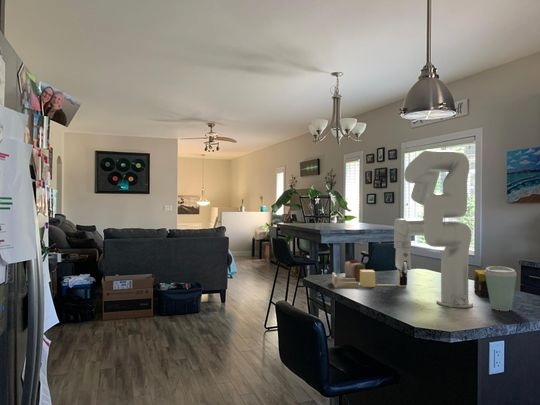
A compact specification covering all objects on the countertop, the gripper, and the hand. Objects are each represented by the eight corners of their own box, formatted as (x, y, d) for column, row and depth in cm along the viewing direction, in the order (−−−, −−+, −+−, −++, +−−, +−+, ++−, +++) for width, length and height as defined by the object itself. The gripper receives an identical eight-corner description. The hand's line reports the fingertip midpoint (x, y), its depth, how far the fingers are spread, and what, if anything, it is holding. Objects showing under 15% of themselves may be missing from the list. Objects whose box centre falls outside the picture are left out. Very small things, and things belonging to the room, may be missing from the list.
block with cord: (407, 287, 185) (407, 272, 185) (362, 286, 186) (362, 271, 186) (403, 285, 191) (403, 270, 191) (359, 284, 192) (359, 269, 192)
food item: (342, 276, 213) (342, 258, 213) (356, 276, 215) (356, 257, 215) (353, 281, 200) (353, 261, 200) (367, 280, 202) (368, 261, 202)
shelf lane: (358, 288, 183) (358, 277, 183) (334, 287, 184) (334, 276, 184) (355, 283, 194) (355, 272, 194) (332, 282, 195) (332, 272, 195)
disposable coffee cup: (522, 313, 141) (522, 270, 141) (488, 311, 143) (488, 269, 143) (511, 306, 151) (511, 266, 151) (480, 304, 153) (480, 265, 154)
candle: (499, 293, 173) (499, 270, 173) (506, 299, 163) (506, 274, 163) (473, 292, 176) (473, 269, 176) (479, 297, 166) (479, 273, 166)
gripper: (416, 247, 179) (415, 288, 179) (405, 243, 196) (405, 281, 196) (399, 246, 180) (398, 287, 180) (390, 243, 196) (389, 280, 196)
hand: (402, 284), depth 188 cm, fingers closed on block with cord, 3 cm apart
